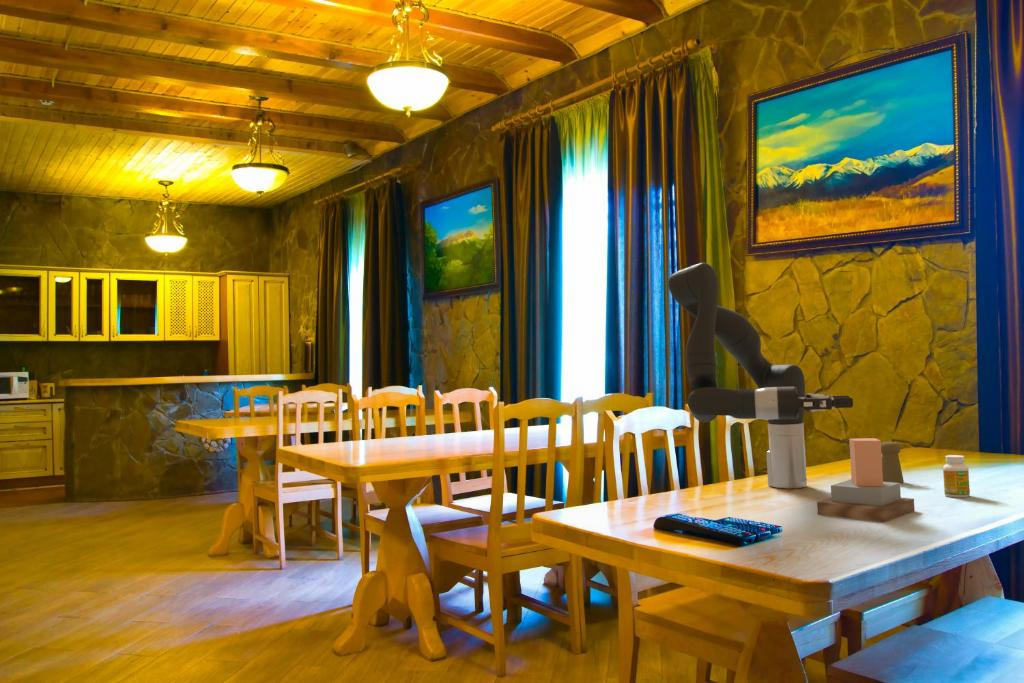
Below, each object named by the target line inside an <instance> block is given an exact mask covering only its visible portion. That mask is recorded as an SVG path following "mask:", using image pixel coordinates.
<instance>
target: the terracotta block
mask: <svg viewBox="0 0 1024 683" xmlns="http://www.w3.org/2000/svg"><path fill="white" fill-rule="evenodd" d="M881 443H882V441H881V439H878V438H875V437H872V438H871V437H869V438H866V437H863V438H862V437H860V438H859V437H858V438H849V454H850V455H849V459H850V475H851V477H850V478H851V479H852V483H853V484H854V485H856V486H883V474H882V454H881ZM851 479H850V480H851Z"/></svg>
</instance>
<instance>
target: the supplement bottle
mask: <svg viewBox="0 0 1024 683" xmlns="http://www.w3.org/2000/svg"><path fill="white" fill-rule="evenodd" d="M945 462H946V464H944V465H943V468H942V470H943V475H942V476H943V491H944V495H945V497H947V498H957V499H964V498H969V497H970V496H971V489H970V478H969V477H970V473H969V467H968V466H967V465H966V464H965V455H959V454H958V455H956V454H954V455H953V454H948V455H945Z"/></svg>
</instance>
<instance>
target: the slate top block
mask: <svg viewBox="0 0 1024 683" xmlns="http://www.w3.org/2000/svg"><path fill="white" fill-rule="evenodd" d="M901 493H902V492H901V484H900V483H894V482H883V486H856V485H854V484H853V483H852V479H848V480H844V481H840V482H837V483H835V484H831V485H830V494H831V495H830V498H831V500H832V501H835V502H846V503H856V504H867V505H878V506H883V505H885V504H888V503H891V502H893V501H896V500H898V499H901V498H902V496H901Z"/></svg>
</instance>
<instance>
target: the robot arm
mask: <svg viewBox="0 0 1024 683" xmlns="http://www.w3.org/2000/svg"><path fill="white" fill-rule="evenodd" d="M717 275H718V274H717V273H716V270H715V269H714V268H713V266H711V265H710V264H709V263H706V262H699V263H697V264H693V265H690V266H688V267H686V268H682V269H680V270H678V271H676V272H674V273H672V274H671V275H670V276H669V279H668V284H667V285H668V286H667V287H668V291H669V292H670V294H671V296H672V298H673V299H674V300H675V301H676V303H678V305H679V306H681V307H682V308H683V309H684V310H685V311H686V312H687V313H688V314H690V315H691V316H693V318H694V319H695V321H694V324H693V326H692V328H691V331H690V334H689V336H688V338H687V343H686V346H685V364H686V376H687V378H688V379H687V380H688V383H689V395H688V397H687V401H686V402H687V406H688V409H689V411H690V414H691V416H692V417H693V418H694V419H695V420H697V421H699V422H701V423H711V422H712V421H714V420H715V419H716V418H717V417H719V416H723V417H725V416H727V417H728V416H729V417H732V418H733V419H739V420H750V419H751V420H756V419H759V420H767V429H768V430H767V432H768V444H769V445H768V447H769V450H768V451H766V467H767V468H766V469H767V486H768V487H773V488H777V489H800V488H801V489H802V488H806V487H807V486H808V484H807V480H808V479H807V463H806V444H805V430H804V429H805V428H804V416H805V412H817V411H818V412H819V411H820V412H821V411H822V412H823V411H826V410H828V411H830V410H834V409H843V408H846V409H848V408H851V409H852V408H853V407H854V401H853V400H854V399H853V398H852V397H850V396H849V395H831V394H824V393H809V392H808V393H806V380H805V375H804V372H803V370H802V369H801V367H800V366H799V365H796V364H773V363H771V362H770V361H768V359H767V358H766V357H765V356H764V355H763V354H762V341H761V335H760V334H759V332H758V330H757V329H756V328H755V327H754V325H753V324H752V323H751V322H750V321H749V320H748V319H747V318H746V317H745V316H743V315H742V314H740V313H738V312H737V311H734V310H732V309H729V308H726V307H724V306H721V305H718V304H719V302H718V300H719V279H718V276H717ZM715 339H716V340H717V341H718V343H720V345H722V347H723V348H724V349H725V350H726V351H727V352H728V353H729V354H730V355H731V356H732V357H733V358H734V359H735V360H736V361H737V362H738V363H739V364H740V366H741V367H742V368H743V369H744V370H745V372H747V374H748V376H750V378H751V379H752V380H753V382H754V383H755V385H756V386H757V388H744V389H743V388H741V389H730V388H726V387H718V383H717V363H716V362H717V361H716V349H715Z"/></svg>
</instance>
